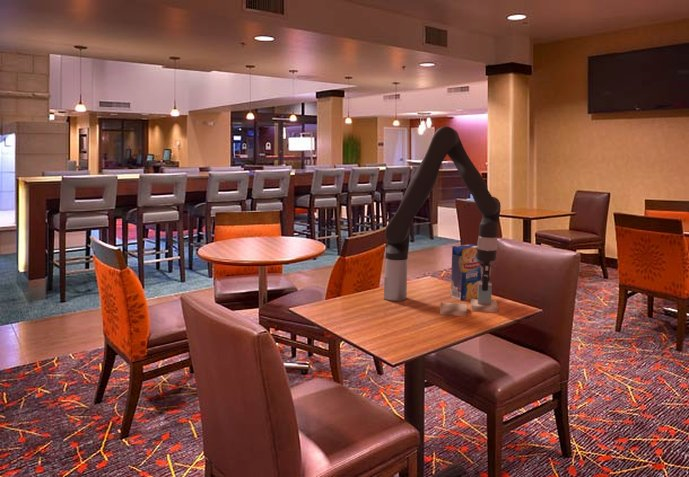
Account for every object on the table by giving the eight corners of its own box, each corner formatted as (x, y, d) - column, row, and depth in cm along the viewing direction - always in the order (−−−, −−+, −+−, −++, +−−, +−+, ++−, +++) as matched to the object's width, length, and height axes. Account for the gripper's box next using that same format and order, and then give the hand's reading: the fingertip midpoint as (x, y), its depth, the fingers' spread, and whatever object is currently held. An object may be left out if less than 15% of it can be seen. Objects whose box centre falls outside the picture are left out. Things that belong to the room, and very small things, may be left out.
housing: (477, 304, 217) (478, 284, 216) (477, 300, 222) (478, 281, 221) (490, 305, 216) (491, 285, 215) (490, 301, 221) (491, 282, 220)
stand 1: (439, 314, 210) (440, 309, 210) (440, 307, 220) (440, 302, 219) (466, 316, 208) (466, 311, 208) (466, 308, 218) (466, 303, 217)
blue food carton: (480, 297, 235) (482, 246, 231) (461, 300, 229) (463, 248, 226) (469, 293, 241) (471, 244, 237) (450, 296, 235) (452, 246, 232)
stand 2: (471, 310, 215) (471, 305, 215) (470, 303, 225) (470, 298, 225) (497, 312, 213) (498, 307, 213) (495, 305, 223) (496, 300, 223)
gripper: (476, 244, 223) (473, 283, 225) (477, 250, 209) (475, 291, 212) (495, 245, 221) (492, 284, 224) (498, 251, 207) (495, 293, 210)
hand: (484, 287), depth 218 cm, fingers open, 8 cm apart
